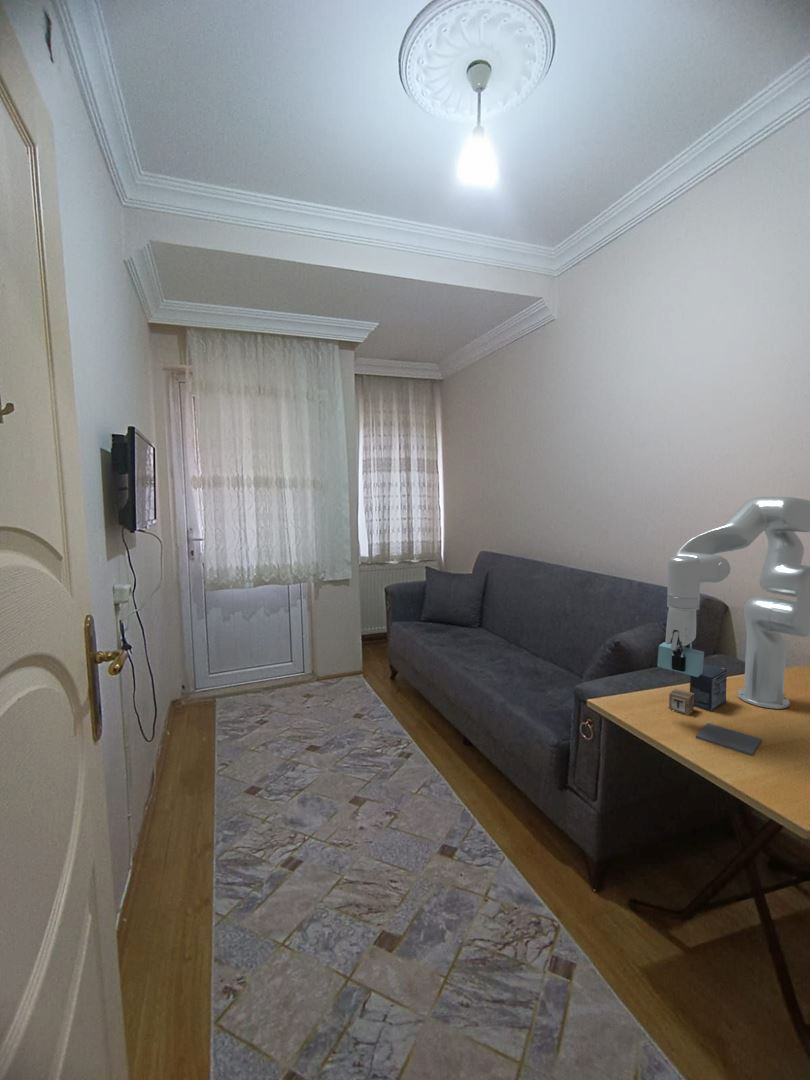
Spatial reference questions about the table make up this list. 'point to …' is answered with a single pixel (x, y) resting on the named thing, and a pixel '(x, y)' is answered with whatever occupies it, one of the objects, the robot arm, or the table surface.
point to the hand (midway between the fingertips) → (681, 667)
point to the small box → (709, 687)
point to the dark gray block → (729, 738)
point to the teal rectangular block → (692, 656)
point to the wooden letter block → (681, 701)
